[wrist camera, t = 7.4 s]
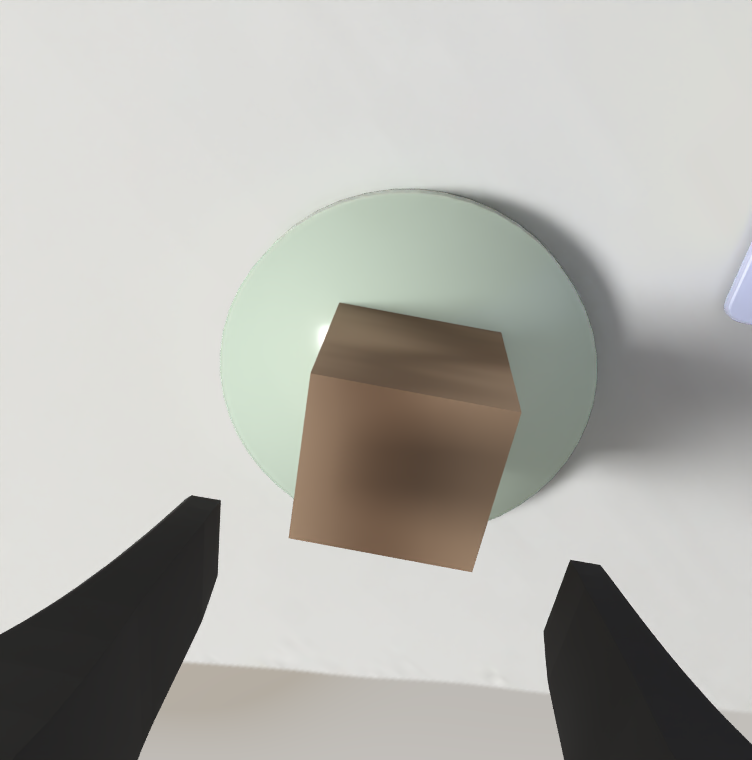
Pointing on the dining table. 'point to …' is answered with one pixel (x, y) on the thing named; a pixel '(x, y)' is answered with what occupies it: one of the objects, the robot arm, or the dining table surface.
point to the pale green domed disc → (415, 298)
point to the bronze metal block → (404, 437)
